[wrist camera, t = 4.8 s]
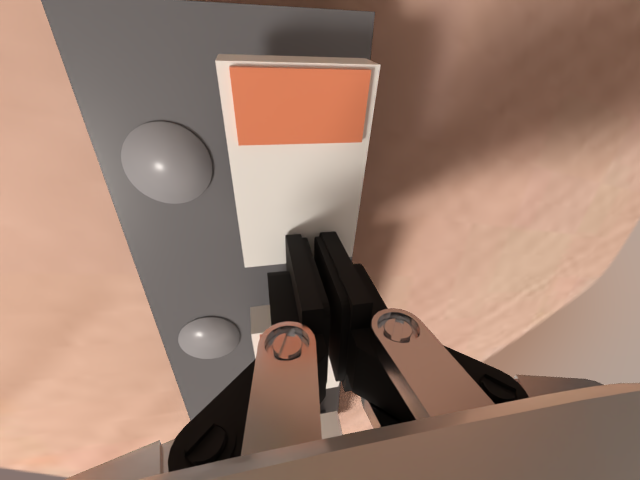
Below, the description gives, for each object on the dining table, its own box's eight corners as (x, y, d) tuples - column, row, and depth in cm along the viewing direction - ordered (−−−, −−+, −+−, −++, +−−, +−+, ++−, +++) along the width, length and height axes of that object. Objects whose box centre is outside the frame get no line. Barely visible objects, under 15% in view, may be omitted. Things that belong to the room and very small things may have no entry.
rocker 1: (218, 54, 8) (214, 61, 7) (365, 58, 8) (383, 66, 7) (244, 246, 12) (244, 271, 11) (343, 238, 12) (353, 260, 11)
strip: (75, 4, 9) (20, -15, 7) (355, 19, 11) (383, 8, 9) (211, 441, 22) (207, 484, 20) (328, 418, 24) (337, 455, 22)
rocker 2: (265, 425, 16) (267, 455, 15) (337, 410, 17) (343, 439, 16) (270, 455, 20) (272, 481, 19) (327, 443, 21) (332, 467, 20)
